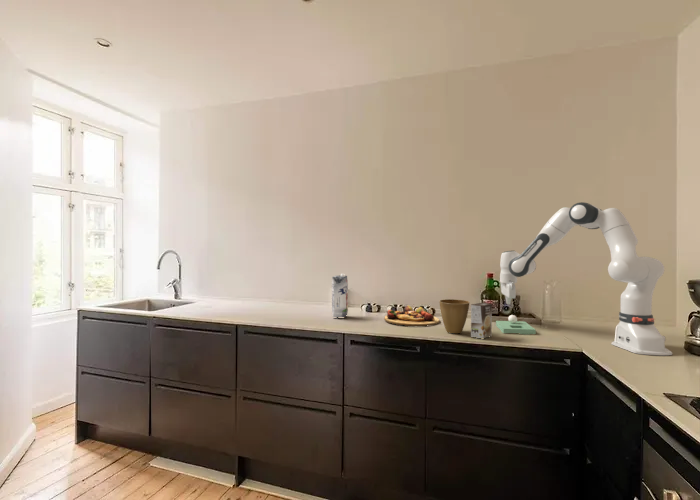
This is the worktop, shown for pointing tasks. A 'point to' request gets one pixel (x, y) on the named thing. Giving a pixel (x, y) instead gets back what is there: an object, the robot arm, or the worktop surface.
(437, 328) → the worktop surface
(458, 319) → the plant pot
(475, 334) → the coffee box
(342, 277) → the juice carton
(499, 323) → the putting board
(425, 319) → the wooden plate with food
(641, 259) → the robot arm
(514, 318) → the ball
